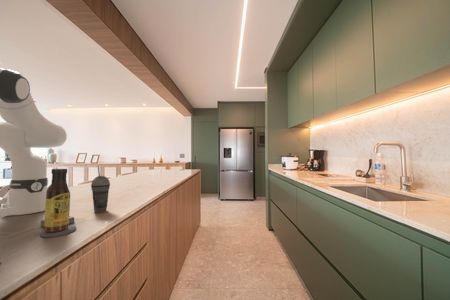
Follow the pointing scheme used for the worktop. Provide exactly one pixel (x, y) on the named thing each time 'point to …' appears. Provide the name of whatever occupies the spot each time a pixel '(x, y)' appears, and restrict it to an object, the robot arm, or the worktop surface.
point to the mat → (58, 232)
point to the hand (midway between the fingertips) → (8, 207)
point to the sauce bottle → (57, 202)
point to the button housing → (71, 220)
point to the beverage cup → (100, 193)
